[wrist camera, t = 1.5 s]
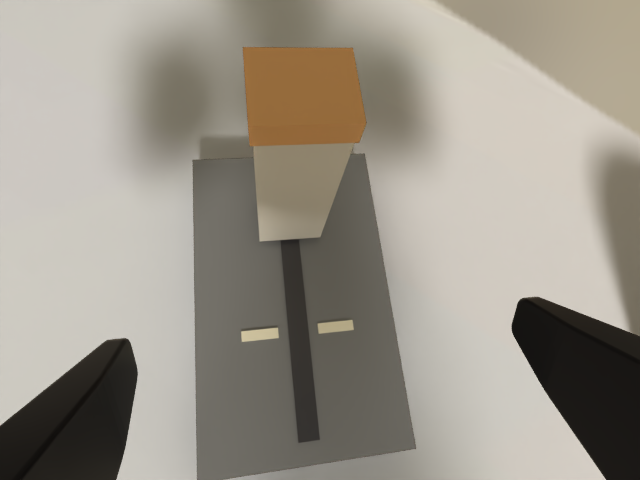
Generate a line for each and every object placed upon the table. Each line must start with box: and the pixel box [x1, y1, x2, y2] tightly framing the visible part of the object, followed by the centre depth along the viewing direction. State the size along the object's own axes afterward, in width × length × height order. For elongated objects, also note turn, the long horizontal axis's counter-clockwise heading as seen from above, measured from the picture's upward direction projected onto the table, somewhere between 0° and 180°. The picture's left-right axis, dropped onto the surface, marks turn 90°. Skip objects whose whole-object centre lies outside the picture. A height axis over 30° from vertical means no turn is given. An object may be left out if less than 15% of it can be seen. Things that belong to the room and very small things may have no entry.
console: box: [193, 154, 416, 480], centre depth 21 cm, size 16×10×2 cm, turn 6°
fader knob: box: [243, 47, 366, 241], centre depth 16 cm, size 3×3×10 cm
